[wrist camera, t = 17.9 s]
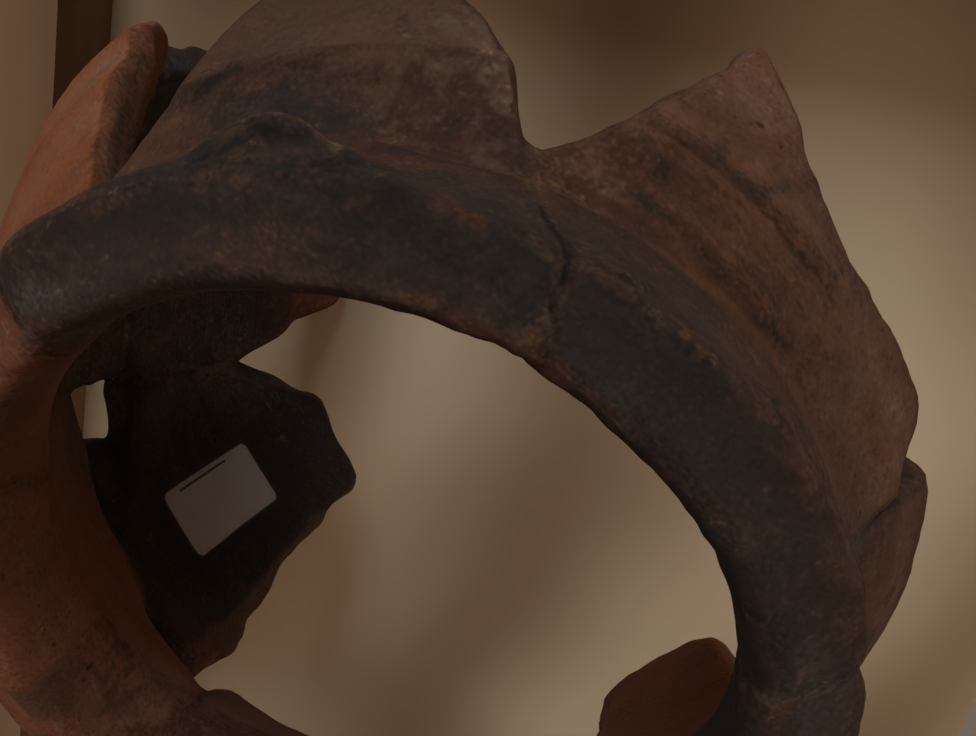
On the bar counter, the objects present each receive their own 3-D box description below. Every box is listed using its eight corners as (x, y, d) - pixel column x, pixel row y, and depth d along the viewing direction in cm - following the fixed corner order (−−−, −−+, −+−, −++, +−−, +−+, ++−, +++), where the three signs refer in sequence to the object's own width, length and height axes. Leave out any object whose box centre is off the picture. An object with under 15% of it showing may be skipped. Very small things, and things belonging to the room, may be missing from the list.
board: (14, 864, 21) (-168, 1091, 16) (78, -377, 13) (-219, -635, 9) (799, 1098, 19) (855, 1422, 15) (1350, -146, 12) (1822, -305, 7)
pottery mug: (571, -301, 10) (224, -602, 3) (999, 324, 12) (1338, 934, 6) (36, 277, 16) (-503, 619, 9) (399, 629, 18) (196, 1118, 11)
